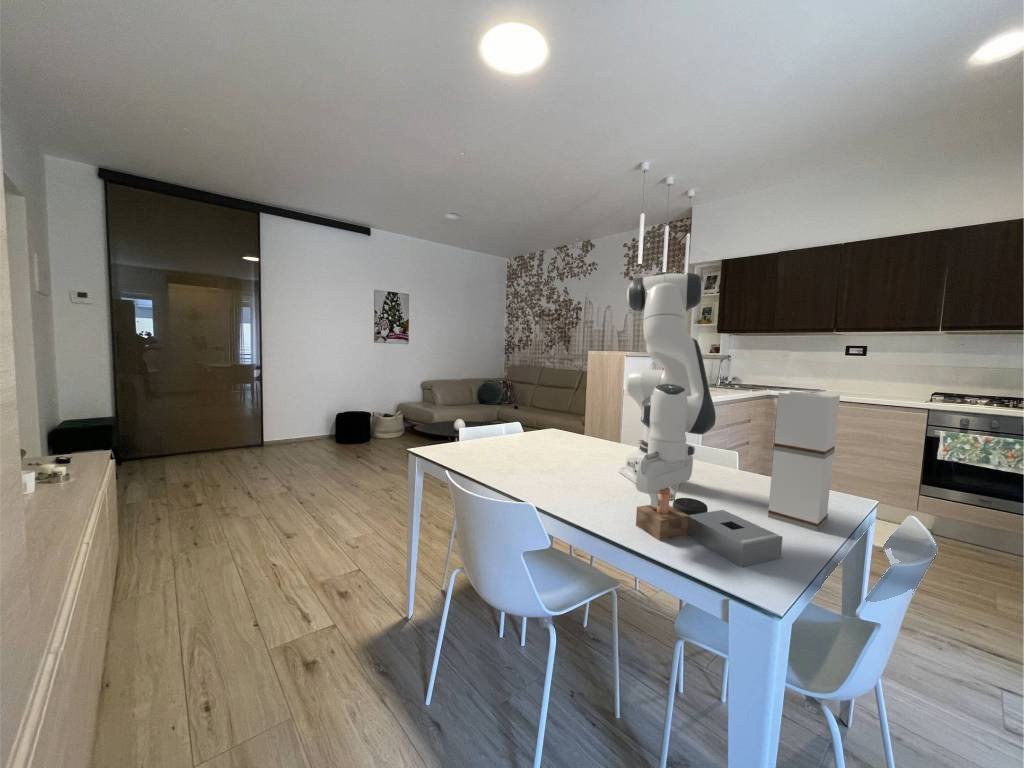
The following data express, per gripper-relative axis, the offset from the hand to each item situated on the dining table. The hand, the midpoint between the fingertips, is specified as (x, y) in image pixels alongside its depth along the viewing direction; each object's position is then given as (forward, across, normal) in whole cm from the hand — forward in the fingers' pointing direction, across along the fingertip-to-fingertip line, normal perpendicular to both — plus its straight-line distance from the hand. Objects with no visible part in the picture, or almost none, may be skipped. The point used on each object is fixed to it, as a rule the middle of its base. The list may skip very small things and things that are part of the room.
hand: (663, 503), depth 105 cm
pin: (+7, 0, 0) cm, 7 cm away
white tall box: (+7, +38, -18) cm, 43 cm away
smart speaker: (+8, +15, 0) cm, 17 cm away
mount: (+7, 0, 0) cm, 7 cm away
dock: (+7, +6, -14) cm, 17 cm away
